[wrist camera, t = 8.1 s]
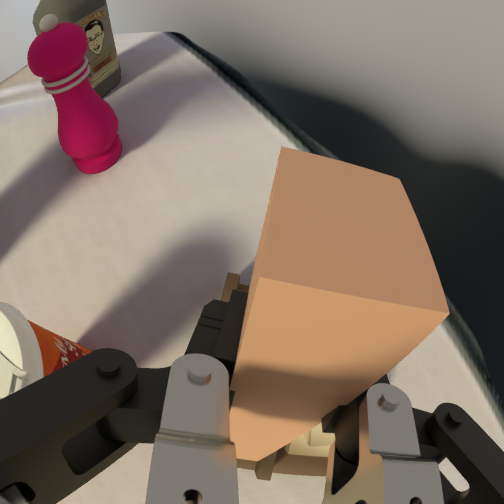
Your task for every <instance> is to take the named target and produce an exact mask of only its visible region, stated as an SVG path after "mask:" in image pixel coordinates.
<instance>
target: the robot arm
mask: <svg viewBox="0 0 504 504" xmlns="http://www.w3.org/2000/svg"><path fill="white" fill-rule="evenodd" d="M247 297H248V292H247V291H242V290H238V289H233V290H232V293H231V296H230V300H229V302H224V301H220V300H215V299H214V300H212V301H211V302H209V303H208V304H207V305H205V306H204V309H203V311H202V313H201V316H200V318H199V321H198V323H197V325H196V328H195V330H194V333H193V335H192V337H191V340H190V342H189V345H188V347H187V350H186V352H185V354H184V355H183V356H181V357H179V358H178V359H176V360H175V361H174V362H173V364H172V366H169V367H166V368H137V365H136V363H135V361H134V360H133V358H132V357H131V356H130V355H128V354H127V353H125V352H123V351H120V350H117V349H110V348H105V349H99V350H95V351H93V352H91V353H89V354H87V355H85V356H83V357H81V358H79V359H77V360H76V361H74V362H72V363H70V364H68V365H66V366H64V367H62V368H60V369H58V370H56V371H55V372H53V373H51V374H49V375H47V376H45V377H43V378H41V379H39V380H37V381H35V382H33V383H31V384H30V385H28V386H26V387H24V388H22V389H20V390H18V391H16V392H14V393H12V394H10V395H8V396H6V397H4V398H2V399H0V504H56V503H58V502H59V501H61V500H62V499H64V498H65V497H67V496H68V495H70V494H71V493H72V492H74V491H75V490H77V489H78V488H80V487H81V486H82V485H84V484H85V483H87V482H88V481H89V480H91V479H92V478H94V477H95V476H96V475H98V474H99V473H100V472H102V471H103V470H105V469H106V468H107V467H109V466H110V465H111V464H113V463H114V462H115V461H117V460H118V459H119V458H120V457H122V456H123V455H124V454H126V453H127V452H128V451H130V450H131V449H132V448H133V447H135V446H136V445H137V444H138V443H154V447H153V453H152V460H151V467H150V473H149V480H148V488H147V495H146V503H145V504H239V498H238V480H237V461H236V448H235V444H234V442H233V441H231V440H230V418H229V414H230V410H231V406H232V402H233V398H234V395H235V391H232V390H229V389H230V384H231V380H232V376H233V372H234V367H235V363H236V358H237V352H238V347H239V342H240V336H241V331H242V325H243V320H244V314H245V309H246V303H247ZM321 424H322V433H335V441H334V442H333V443H332V445H331V446H330V448H329V455H328V466H327V475H326V484H325V492H324V498H323V502H322V504H504V452H503V451H502V450H501V448H500V447H499V446H498V445H497V444H496V443H495V442H494V441H493V440H492V439H491V438H490V437H489V436H488V435H487V433H486V432H485V431H484V430H483V429H482V428H481V427H480V426H479V425H478V424H477V423H476V422H475V421H474V420H473V419H472V418H471V417H470V416H469V415H468V414H467V413H466V412H465V411H464V410H463V409H462V408H461V407H459V406H457V405H455V404H452V403H442V404H440V405H439V406H438V407H437V408H436V409H435V411H434V412H433V413H429V412H425V411H422V410H419V409H415V408H412V406H411V402H410V400H409V398H408V396H407V395H406V394H405V393H404V392H403V391H402V390H400V389H399V388H397V387H395V386H393V385H390V383H389V380H388V377H387V374H385V375H384V376H383V377H382V378H380V379H379V380H378V381H377V382H375V383H374V384H373V385H372V386H371V387H369V388H368V389H367V390H365V391H364V392H363V393H362V394H360V395H359V396H358V397H356V398H355V399H354V400H352V401H351V402H350V403H348V404H347V405H339V406H337V407H336V408H335V409H333V410H332V411H331V412H329V413H328V414H327V415H325V416H324V417H323V418H321ZM446 457H447V458H448V459H449V461H450V462H451V463H452V464H453V465H454V466H455V468H456V469H457V470H458V471H459V472H460V473H461V475H462V476H463V477H464V478H465V479H466V481H467V482H468V483H469V487H470V488H469V489H468V490H466V491H463V492H460V491H457V490H456V489H455V488H454V487H453V486H452V484H451V483H450V482H449V481H448V480H447V478H446V477H445V476H444V475H443V474H442V472H441V471H440V470H439V467H438V464H439V463H441V462H442V461H443V460H444V459H445V458H446Z"/></svg>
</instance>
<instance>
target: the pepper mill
mask: <svg viewBox="0 0 504 504" xmlns="http://www.w3.org/2000/svg"><path fill="white" fill-rule="evenodd" d="M39 27H40V29H41V30H42V31H43V32H42V33H40V34H39V35H38V36H37V37H36V38H35V40H34V41H33V42H32V44H31V46H30V48H29V51H28V58H27V59H28V65H29V68H30V69H31V71H32V72H33V74H34V75H36V76H39V77H42V85H43V86H44V88H45V91H46V92H47V93H49V94H52V96H53V98H54V100H55V103H56V106H57V111H58V137H59V141H60V144H61V146H62V149H63V150H64V152H65V153H66V154H67V155H69V156H71V157H73V160H74V162H75V164H76V165H77V167H78V169H79V170H80V171H82V172H84V173H87V174H94V173H99V172H102V171H104V170H106V169H108V168H109V167H110V166H112V165H113V164H114V163H115V162H116V161H117V160H118V158H119V156H120V154H121V151H122V144H121V141H120V138H119V136H118V134H117V130H118V120H117V117H116V115H115V113H114V111H113V109H112V108H111V107H110V105H109V104H108V103H107V102H105V101H104V100H103V99H102V98H101V97H100V96H99V95H98V94H97V93H96V92H95V90H94V89H93V88H92V85H91V83H90V81H89V78H88V74H89V72H90V65H89V64H88V59H87V57H85V56H84V54H85V52H86V50H87V47H88V39H87V36H86V33H85V32H84V30H83V29H82V28H81V27H80V26H79V25H77V24H74V23H69V22H67V23H59V24H58V18H57V16H56V15H54V14H48V15H46V16H44V17H43V18H42V19H41V21H40V24H39Z"/></svg>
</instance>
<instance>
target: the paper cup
mask: <svg viewBox="0 0 504 504" xmlns="http://www.w3.org/2000/svg"><path fill="white" fill-rule="evenodd" d="M91 352H93V351H91V350H89V349H87V348H85V347H83V346H81V345H79V344H77V343H74V342H72V341H70V340H68V339H66V338H63V337H61V336H59V335H57V334H55V333H53V332H51V331H49V330H47V329H44V328H42V327H40V326H38V325H36V324H34V323H33V322H31V321H29V320H27V319H26V318H25V317H24V315H23V314H22V313H21V312H20V311H19V310H17V309H16V308H14V307H13V306H11V305H9V304H6V303H2V302H0V399H2V398H4V397H6V396H8V395H10V394H12V393H14V392H16V391H18V390H20V389H22V388H24V387H26V386H28V385H30V384H31V383H33V382H35V381H37V380H39V379H41V378H43V377H45V376H47V375H49V374H51V373H53V372H55V371H56V370H58V369H60V368H62V367H64V366H66V365H68V364H70V363H72V362H74V361H76V360H77V359H79V358H81V357H83V356H85V355H87V354H89V353H91Z"/></svg>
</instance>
